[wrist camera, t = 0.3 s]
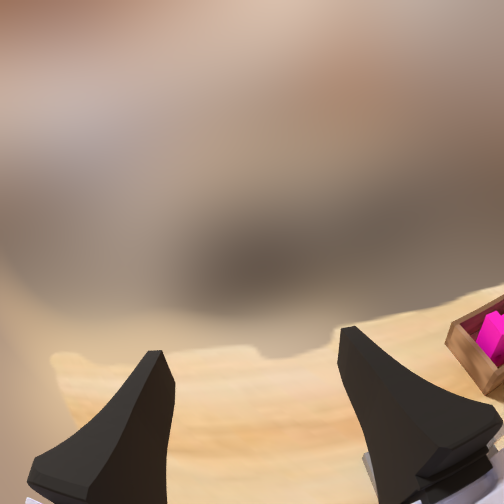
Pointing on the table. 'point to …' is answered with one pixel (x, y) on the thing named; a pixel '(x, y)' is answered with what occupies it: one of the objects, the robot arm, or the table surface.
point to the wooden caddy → (476, 347)
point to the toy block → (492, 337)
